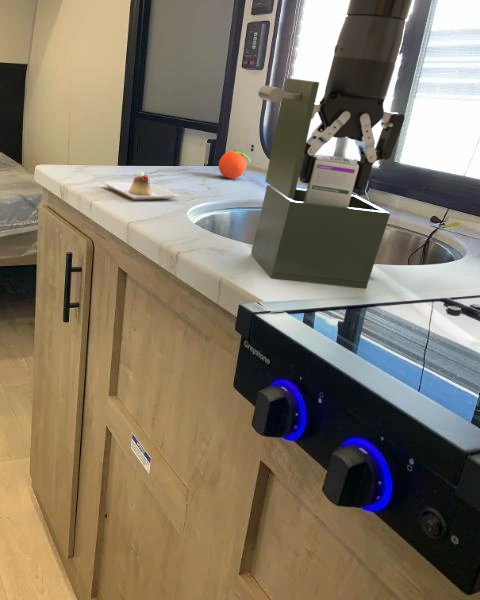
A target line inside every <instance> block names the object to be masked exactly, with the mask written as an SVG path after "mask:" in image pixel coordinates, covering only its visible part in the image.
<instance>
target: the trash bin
mask: <svg viewBox="0 0 480 600" xmlns="http://www.w3.org/2000/svg"><path fill="white" fill-rule="evenodd" d="M306 190H307V189H303V188H296V191H295V196H294V198H288V197H286V196H285V195H284V194H282V193H281V192H279V191H278V190H277V189H275V188H274V187H272V186H271V185H269V184H267V185H266V189H265V191H264V192H265V193H264V197H263V201H262V206H261V210H260V214H259V218H258V221H257V222H258V223H257V226H256V231H255V235H254V239H253V244H252V247H251V251H250V255H251V256H252V257H253V258H254V260H255V261H256V262H257V263H258V265H259V266H260V267H261V268H262V269H263V270H264V272H265V273H266V274H267V275H268V276H269V277H270V279H277V280H286V281H294V282H305V283H313V284H323V285H329V286H330V285H331V286H340V287H349V288H358V289H367V287H368V284H369V281H370V277H371V276H372V275H371V274H372V271H373V268H374V265H375V263H376V259H377V256H378V253H379V250H380V247H381V244H382V241H383V237H384V234H385V231H386V229H387V226H388V222H389V219H390V216H391V213H390V212H389V211H387V210H385V209H383V208H381V207H379V206H377V205H375V204H373V203H371V202H370V201H368V200H366V199H364V198H362V197H360V196H358V195H355V194H352V195H351V199H350V203H349V207H341V206H333V205H324V204H315V203H307V202H304V198H305V194H306Z"/></svg>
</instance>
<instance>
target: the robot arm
mask: <svg viewBox="0 0 480 600" xmlns="http://www.w3.org/2000/svg"><path fill="white" fill-rule="evenodd" d="M412 2H413V0H349V5H348V8H347V11H346V16H345V18H344V22H343V24H342V27H341V29H340V32H339V35H338V37H337V42H336V44H335V46H334V50H333V58H332V61H331V65H330V69H329V73H328V76H327V81H326V84H325V90H324V95H323V97H322V99H321V100H320V102H319V103H316V102H315V105H314V109H313V114H312V118H311V120H313V119H314V117H315V115H316V114H318V117H319V120H320V123H319V125H318V126H316V128H315V129H314V130H313V132H311V134H310V137H309V138H307V141H306V146H305V150H304V155H303V159H302V164H301V168H300V173H299V178H298V181H299V182H300V183H302V184H308V183H309V182H310V179H311V175H312V171H313V167H314V163H315V159H316V157H315V156H316V155H317V153H318V152H319V150H320V149H321V148H322V147H323V146H324V145H325V144H326V143H328V142H329V141H331V139H332V138H336V139H343V138H347V139H349V140H354V143H355V145H356V146H357V149H358V155H359V158H360V159H357V160H356V163H357V164H358V165H359V169H358V173H357V176H356V180H355V184H354V187H353V190H359V191H360V190H362V189H363V187H366V185H367V184H368V182H369V178H370V175H371V171H372V168H373V165H374V163H376V162H378V161H381V160H386V161H387V160H389V159H391V157H392V155H393V152H394V148H395V146H396V143H397V140H398V138H399V135H400V133H401V129H402V127H403V124H404V122H405V115H404V114H403V113H399V112H393V111H391V112H387V111H385V110H384V102H385V100H386V97H387V96H388V92H389V88H390V85H391V82H392V79H393V75H394V72H395V68H396V65H397V62H398V58H399V54H400V51H401V48H402V44H403V40H404V34H405V27H406V23H407V22H406V21H407V20H408V16H409V13H410V9H411V6H412ZM379 122H380V126H381V131H380V135H379V137H378V140H377V143H376V142H375V137H374V133H373V129H374V127H375V126H376V125H377V124H378V123H379ZM375 144H376V146H375Z"/></svg>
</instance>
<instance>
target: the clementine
mask: <svg viewBox="0 0 480 600" xmlns="http://www.w3.org/2000/svg"><path fill="white" fill-rule="evenodd" d="M246 158H248V160H249V163H250V164H252V162H251V159H250V157H249V156H248V155H247V154H245V153H243V152H240V151H237V150H234V151H233V150H229V151H227V152H225V153H224V154H223V155H222V156H221V158H220V159H219V161H218V170H219V172H220V174H221V175H222V176H223V177H224V178H226V179H231V180H234V179H237V178H240V177H241V176H242V175H243V174H244V173H245V171H246V168H247V160H246Z"/></svg>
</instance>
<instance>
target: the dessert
mask: <svg viewBox="0 0 480 600" xmlns="http://www.w3.org/2000/svg"><path fill="white" fill-rule="evenodd" d="M144 172H145V173H147V171H146V170H144ZM144 172H143V170H140V171H139V172H137V174H136V176H135V177H134V178H133V180H132V181H101V184H103V185H104V186H106V187H107V188H108V189H110V190H112V191H114V192H116V193H118V194H120V195H123V196H125V197H127V198H129V199H131V200H134V201H139V200H140V201H143V200H145V201H146V200H172V199H176V198H180V197H181V195H180V194H178V193H175V192H172V191H170V190H169V189H166V188H164V187H161V186H158V185H156V184H154V183H151V181H150V178H149V175H147V174H144Z"/></svg>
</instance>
